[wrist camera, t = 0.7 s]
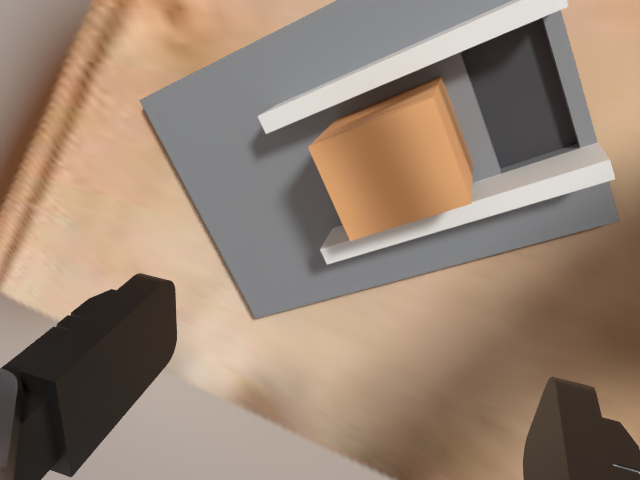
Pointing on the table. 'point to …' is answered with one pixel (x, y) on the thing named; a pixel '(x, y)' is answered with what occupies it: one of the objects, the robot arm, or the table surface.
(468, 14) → the channel
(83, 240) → the table surface
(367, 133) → the block
